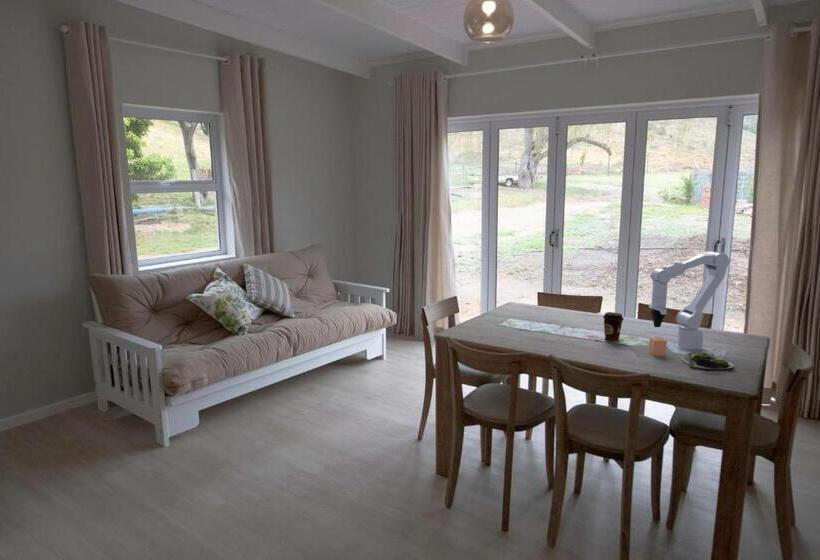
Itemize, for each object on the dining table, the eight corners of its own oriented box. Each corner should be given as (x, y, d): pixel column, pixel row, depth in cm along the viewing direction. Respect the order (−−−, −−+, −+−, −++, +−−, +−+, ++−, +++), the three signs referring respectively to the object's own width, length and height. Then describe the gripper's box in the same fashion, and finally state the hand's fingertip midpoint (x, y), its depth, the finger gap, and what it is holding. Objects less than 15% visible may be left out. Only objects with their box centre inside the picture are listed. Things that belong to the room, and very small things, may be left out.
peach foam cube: (661, 352, 236) (662, 337, 235) (665, 356, 231) (666, 340, 230) (648, 352, 237) (649, 337, 236) (652, 355, 232) (653, 340, 231)
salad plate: (669, 357, 232) (670, 346, 231) (710, 356, 233) (711, 346, 232) (695, 373, 213) (696, 361, 212) (740, 372, 214) (741, 360, 213)
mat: (665, 346, 246) (665, 345, 246) (680, 358, 229) (680, 357, 229) (626, 345, 247) (626, 344, 247) (637, 357, 231) (637, 356, 231)
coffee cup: (608, 344, 250) (610, 316, 248) (598, 339, 258) (599, 312, 256) (625, 342, 252) (627, 314, 250) (614, 337, 260) (615, 310, 258)
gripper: (644, 292, 246) (642, 322, 248) (655, 299, 232) (653, 331, 234) (660, 293, 245) (658, 322, 248) (672, 300, 231) (670, 331, 234)
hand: (657, 326), depth 241 cm, fingers closed
